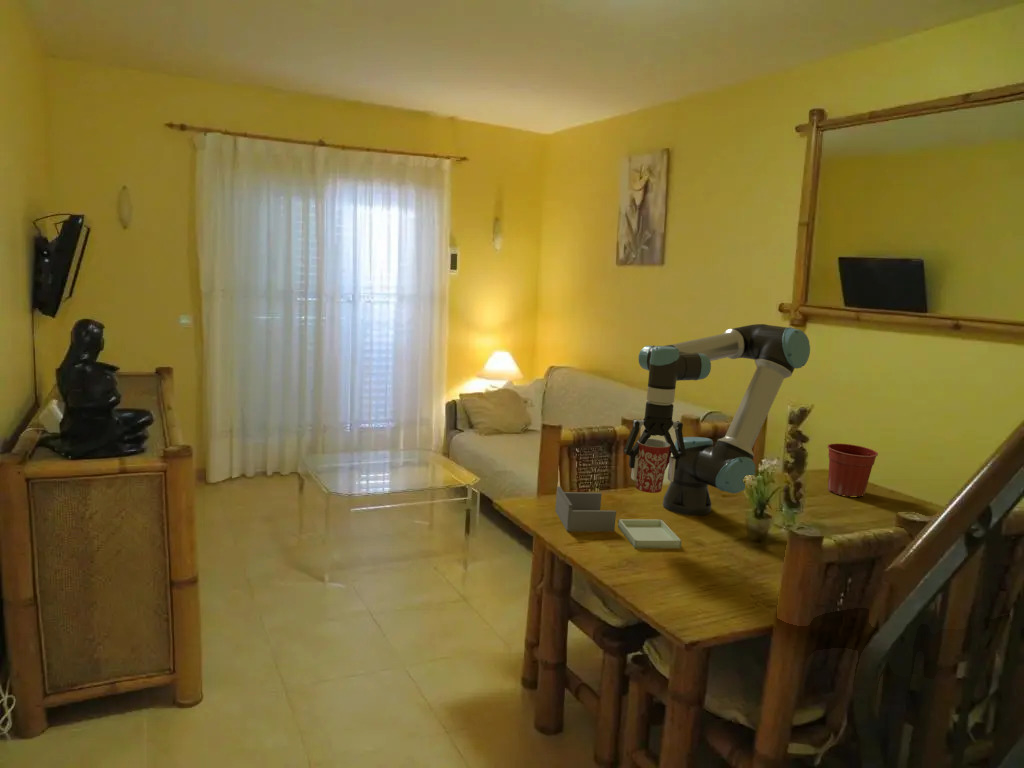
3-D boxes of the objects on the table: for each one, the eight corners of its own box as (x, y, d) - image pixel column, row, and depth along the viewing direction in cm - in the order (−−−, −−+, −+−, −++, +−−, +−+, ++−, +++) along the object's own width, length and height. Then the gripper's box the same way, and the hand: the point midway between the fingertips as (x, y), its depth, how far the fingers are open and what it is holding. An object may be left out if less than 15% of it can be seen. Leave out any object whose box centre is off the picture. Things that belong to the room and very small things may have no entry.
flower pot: (882, 499, 256) (889, 455, 253) (842, 501, 252) (849, 456, 249) (849, 484, 272) (855, 443, 269) (811, 486, 267) (817, 443, 265)
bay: (599, 511, 227) (601, 487, 225) (614, 531, 211) (616, 505, 209) (555, 510, 225) (557, 486, 223) (567, 531, 209) (569, 505, 207)
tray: (660, 526, 217) (661, 519, 216) (680, 548, 201) (681, 540, 201) (617, 526, 215) (618, 519, 214) (634, 548, 199) (635, 540, 199)
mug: (650, 496, 199) (656, 448, 196) (625, 486, 205) (631, 440, 203) (679, 489, 207) (685, 443, 205) (653, 480, 214) (659, 435, 211)
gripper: (694, 401, 207) (685, 476, 211) (616, 397, 204) (609, 474, 208) (704, 406, 199) (695, 484, 203) (624, 403, 196) (616, 482, 200)
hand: (652, 479), depth 205 cm, fingers closed on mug, 10 cm apart
